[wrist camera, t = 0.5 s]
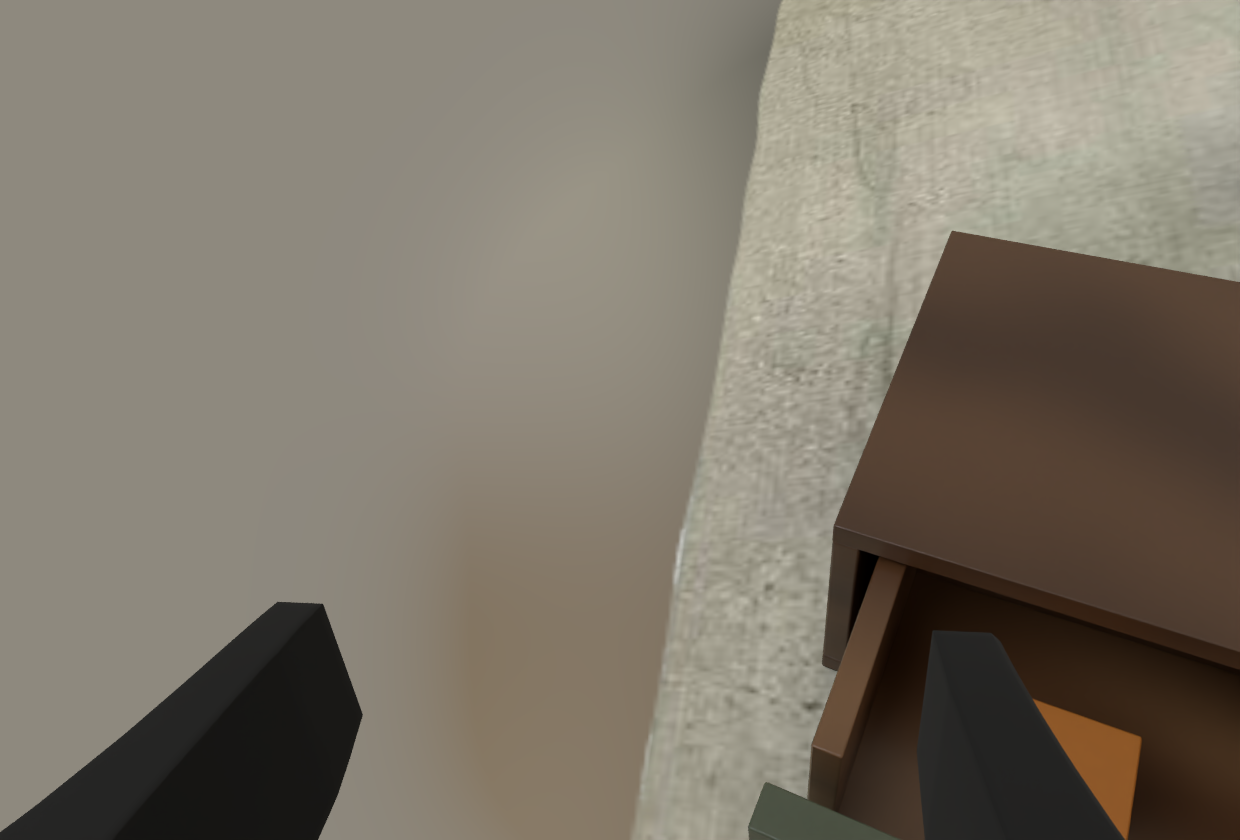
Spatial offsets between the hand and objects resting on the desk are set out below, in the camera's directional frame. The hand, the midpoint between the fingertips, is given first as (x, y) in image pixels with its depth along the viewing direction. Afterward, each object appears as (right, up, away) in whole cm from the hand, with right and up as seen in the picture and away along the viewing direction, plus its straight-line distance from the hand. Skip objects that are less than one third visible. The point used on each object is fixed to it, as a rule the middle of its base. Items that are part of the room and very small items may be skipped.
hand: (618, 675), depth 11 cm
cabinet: (+16, -2, +22) cm, 28 cm away
